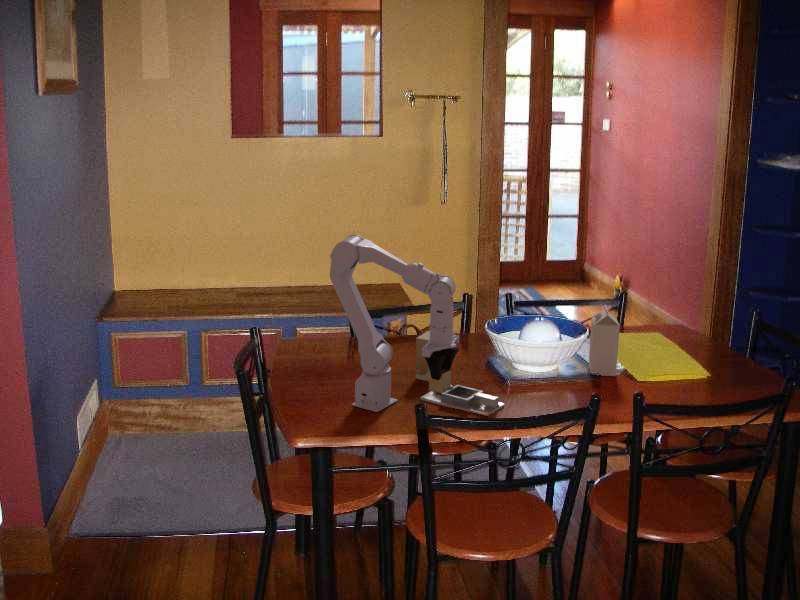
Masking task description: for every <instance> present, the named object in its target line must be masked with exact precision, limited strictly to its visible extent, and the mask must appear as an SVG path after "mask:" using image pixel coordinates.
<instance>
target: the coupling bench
mask: <svg viewBox="0 0 800 600" xmlns="http://www.w3.org/2000/svg"><path fill="white" fill-rule="evenodd" d="M499 399H500V398H499V396H496V395H495V396H494V395H491V394H487V393H484V390H480V389H477V388H472V387H468V386H464V385H462V384H461V385H460V384H456V385H454V386H453V385H452V384H451V389H449V390H447V391H445V392H443V393H439V392H435V391H431V390H430V391H429V392H427V393H426V394H424V395H422V396H420V401H423V402H427V403H431V404H436V405H438V406H443V407H446V408H450V407H451V409H453V408H455V410H457V409H461V410H465V411H470V412H474V413H478V414H484V415H489V414H490V413H492V412H494V411H496V410H498V409H499V408H501V407H503V406H504V405H506V403H503V402H501V401H499ZM504 407H505V406H504ZM504 407H503V408H504ZM501 409H502V408H501ZM461 410H460V411H461ZM465 411H464V412H465ZM498 411H499V410H498ZM496 412H497V411H496Z"/></svg>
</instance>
